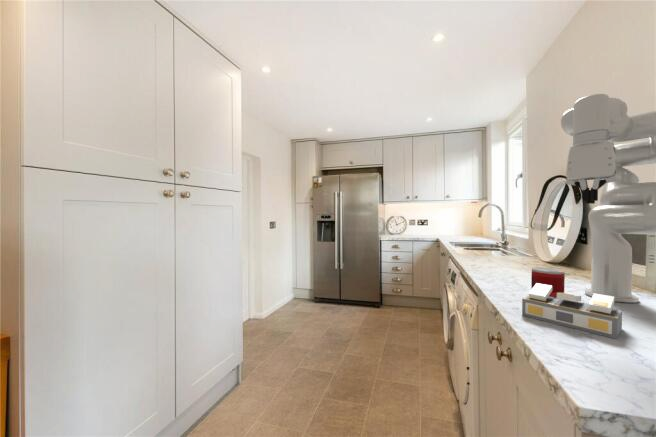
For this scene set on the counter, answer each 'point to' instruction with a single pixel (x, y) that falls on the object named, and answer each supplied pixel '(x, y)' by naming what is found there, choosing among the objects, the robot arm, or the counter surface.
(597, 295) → the rocker
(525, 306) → the switch unit
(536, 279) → the canned food
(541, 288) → the rocker
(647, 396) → the counter surface
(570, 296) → the rocker
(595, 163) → the robot arm
